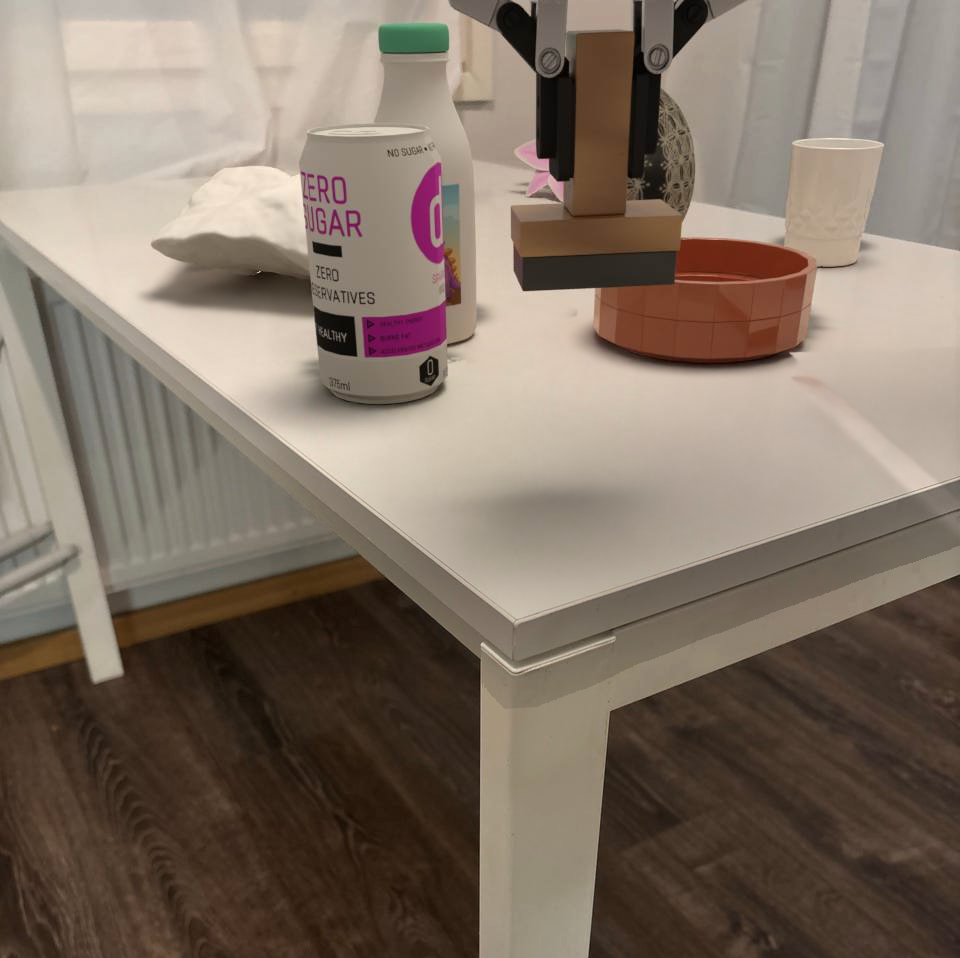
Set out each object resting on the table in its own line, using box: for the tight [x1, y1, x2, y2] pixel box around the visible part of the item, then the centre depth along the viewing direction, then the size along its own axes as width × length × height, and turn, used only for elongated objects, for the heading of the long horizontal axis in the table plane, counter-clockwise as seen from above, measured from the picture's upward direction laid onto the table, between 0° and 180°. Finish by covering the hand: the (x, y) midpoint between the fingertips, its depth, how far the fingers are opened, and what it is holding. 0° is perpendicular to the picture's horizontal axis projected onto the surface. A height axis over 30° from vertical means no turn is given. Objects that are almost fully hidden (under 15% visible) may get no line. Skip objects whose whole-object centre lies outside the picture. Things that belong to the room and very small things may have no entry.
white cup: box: [783, 137, 885, 268], centre depth 93 cm, size 8×8×10 cm
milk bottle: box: [373, 22, 477, 345], centre depth 71 cm, size 8×8×20 cm
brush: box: [510, 28, 683, 292], centre depth 45 cm, size 7×4×10 cm, turn 94°
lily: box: [513, 138, 564, 203], centre depth 128 cm, size 12×12×10 cm
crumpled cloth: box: [150, 165, 311, 280], centre depth 91 cm, size 24×35×9 cm
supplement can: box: [298, 122, 449, 405], centre depth 62 cm, size 8×8×15 cm
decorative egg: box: [627, 88, 696, 223], centre depth 94 cm, size 12×12×15 cm
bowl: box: [593, 236, 818, 364], centre depth 73 cm, size 15×15×6 cm
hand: (595, 171), depth 45 cm, fingers closed on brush, 2 cm apart
